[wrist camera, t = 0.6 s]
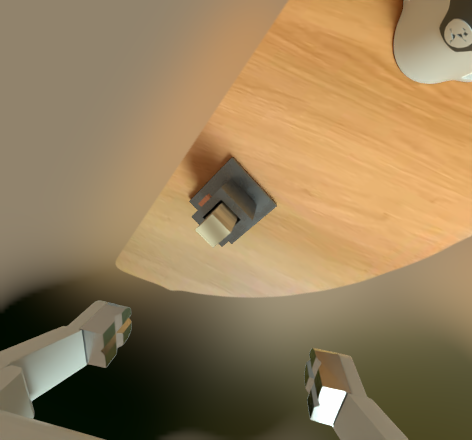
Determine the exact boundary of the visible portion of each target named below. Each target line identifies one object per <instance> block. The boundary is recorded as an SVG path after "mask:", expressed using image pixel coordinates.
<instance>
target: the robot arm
mask: <svg viewBox="0 0 472 440" xmlns="http://www.w3.org/2000/svg"><path fill="white" fill-rule="evenodd" d="M394 55H395V59H396V62H397V64H398V66H399V68H400V69H401V71H402V72H403V73H404V74H405V75H406V76H407V77H409V78H410V79H412V80H414V81H417V82H420V83H427V84H433V83H440V82H444V81H449V80H457V81H462V82H472V0H403V10H402V14H401V16H400V19H399V22H398V24H397V27H396V31H395V36H394ZM130 315H131V309H130V308H129V307H125V306H121V305H117V304H113V303H108V302H104V301H100V300H99V301H96V302H94V303H93V304H92V305H91V306H90V307H89V308H88V309H86V310H85V311H84V312H83V313H82V314H81V315H80V316H78V317H77V318H76V319H75V320H74V321H73V322H72V323H70V324H69V325H68V326H67V327H66V326H62V327H60V328H58V329H55V330H52V331H50V332H48V333H45V334H43V335H40V336H38V337H35V338H33V339H30V340H28V341H25V342H23V343H20V344H18V345H15V346H13V347H11V348H8V349H6V350H3V351H1V352H0V440H104V439H101V438H97V437H94V436H90V435H87V434H83V433H79V432H76V431H72V430H69V429H66V428H62V427H59V426H55V425H52V424H48V423H45V422H41V421H37V420H35V419H32V418H33V417H34V409H33V406H32V402H31V401H32V400H34V399H35V398H37V397H38V396H40V395H42V394H43V393H44V392H46V391H48V390H49V389H51V388H52V387H54V386H55V385H57V384H58V383H60V382H61V381H63V380H64V379H66V378H68V377H69V376H70V375H72V374H74V373H75V372H76V371H78V370H80V369H81V368H83V367H84V366H86V365H87V364H91V365H96V366H100V367H104V368H106V367H107V366H108V365H109V363H110V362H111V361H112V359H113V358H114V357H115V355H116V354H117V348H118V347H120V346H122V345H123V344H124V343H125V342H126V340H127V338H128V337H129V334H130V332H131V328H132V322H131V321H130V319H129V317H130ZM309 356H310V360H309V361H308V362H307V363H306V366H305V373H304V380H305V388H306V390H307V391H308V392H309V396H308V399H307V402H308V409H309V415H310V419H311V420H314V421H318V422H321V423H325V424H328V425H331V426H333V428H334V430H335V432H336V433H337V435H338V437H339V438H340V440H408V438H407V437H406V436H405V435H404V434H403V433H402V432H401V431H400V430H399V429H398V428H397V426H396V425H395V424H394V423H393V422H392V421H391V420H390V419H389V418H388V416H386V414H385V413H384V412H383V411H382V410H381V409H380V408H379V407H378V406H377V404H376V403H375V402H374V401H373V400H372V399H370V398H367V396H366V393H365V391H364V388H363V386H362V383H361V380H360V378H359V375H358V373H357V370H356V368H355V365H354V362H353V360H352V358H351V357H350V356H348V355H344V354H339V353H334V352H330V351H324V350H320V349H315V348H312V349H311V351H310V354H309Z"/></svg>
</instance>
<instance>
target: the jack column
mask: <svg viewBox="0 0 472 440" xmlns="http://www.w3.org/2000/svg"><path fill="white" fill-rule="evenodd" d="M237 219H238V216H237V215H236V214H235V213H234V212H233V211H232V210H231V209H230V208H229V207H228V206H227V205H226V204H225V203H224V202H223V201H221V202H220V203H219V204H218V205H217V206H216V207H215V208H214V210H213V211H212V212H211V213H210V214H209V215H208V216H207V217H206V219H205V220H204V221H203V222H202V223H201V224H200V225H199V226H198V228H197V229H196V231H197V232H198V233H199V234H200V235H201V236H202V237H203V238H204V239H205V240H206V241H207V242H208V243H209V244H210V245H211V246H212V247H213V248H214V247H215V246H216V245H217V244H218V243H219V242H221V241H222V240H223V239H224V238H225V237H226V236H227V235H229V234H230V233H231V231H232V229H233V227H234V225H235V223H236V221H237Z"/></svg>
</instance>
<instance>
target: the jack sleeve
mask: <svg viewBox="0 0 472 440" xmlns="http://www.w3.org/2000/svg"><path fill="white" fill-rule="evenodd" d="M221 201H223V202H224V203H225V204H226V205H227V206H228V207H229V208H230V209H231V210H232V211H233V212H234V213H235V214H236V215H237V216H238V219H237V221H236V223H235V225H234V227H233V229H232V231H231V233H230V234H229V235H227V236H226V237H225V238H224V239H223V240H222V241H221V242H219V243H218V244H220V245H221V246H224V245H225V244H226V243H227V242H228V241H229V242H230V243H231V244H232V243H233V242H235V241H236V240H237V239H238V238H239V237H240V236H242V235H243V234H244V233H245V232H246V231H248V230H249V229H250V228H251V227H252V226H254V225H255V224H256V223H257V222H258V221H260V220H261V219H262V218H263V217H264V216H266V215H267V214H268V213H269V212H270V211H272V210H273V209H274V208H275V207H276V206H277V204H276V203H275V202H274V201H273V200H272V199H271V198H270V196H269V195H268V194H267V193H266V192H265V191H264V190H263V189H262V188H261V187H260V186H259V185H258V184H257V182H256V181H255V180H254V179H253V178H252V177H251V176H250V175H249V174H248V173H247V172H246V171H245V170H244V168H243V167H242V166H241V165H240V164H239V163H238V162H237V161H236V160H235V159H234V158H233V157H232V158H231V159H230V160H229V161H228V162H227V163H226V164H225V165H224V166H223V167H222V168H221V169H220V170H219V171H218V172H217V173H216V174H215V175H214V176H213V177H212V178H211V179H210V181H209V182H208V183H207V184H206V185H205V186H204V187H203V188H202V189H201V190H200V191H199V192H198V193H197V194H196V195H195V196H194V197H193V198H192V199H191V200H190V201H189V202H190V203H191V204H192V205H193V206H194V207H195V208H196V209H197V210H198V211H197V212H196V213H195V214H194V215H193V216H192V218H193V219H194V220H195V221H196V222H197V223H198V224H199V225H200V224H201V223H202V222H203V221H204V220H205V219H206V217H207V216H208V215H209V214H210V213H211V212H212V211H213V210H214V208H215V207H216V206H217V205H218V204H219V203H220V202H221Z"/></svg>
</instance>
